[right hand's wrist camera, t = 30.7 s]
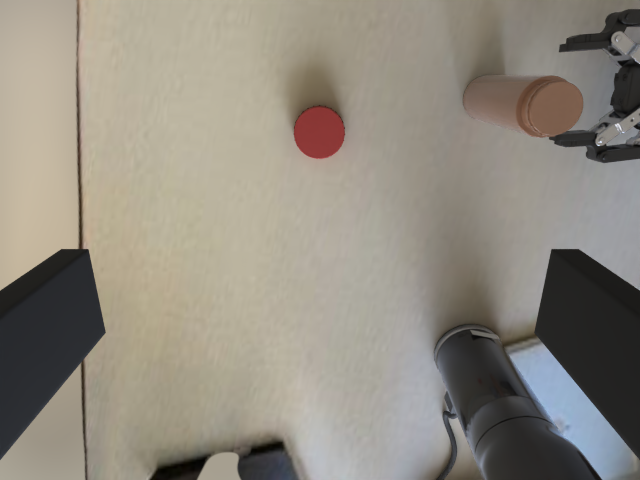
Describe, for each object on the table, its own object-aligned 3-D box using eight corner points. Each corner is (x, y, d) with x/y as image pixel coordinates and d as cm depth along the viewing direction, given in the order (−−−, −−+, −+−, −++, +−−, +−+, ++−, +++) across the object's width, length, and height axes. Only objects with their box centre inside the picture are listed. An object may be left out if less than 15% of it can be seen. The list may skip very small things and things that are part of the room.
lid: (340, 159, 52) (341, 162, 50) (292, 153, 52) (290, 156, 50) (347, 108, 50) (348, 110, 48) (297, 102, 50) (296, 103, 48)
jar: (465, 75, 49) (530, 76, 33) (509, 74, 48) (594, 75, 33) (460, 120, 50) (521, 141, 35) (503, 120, 50) (582, 140, 35)
